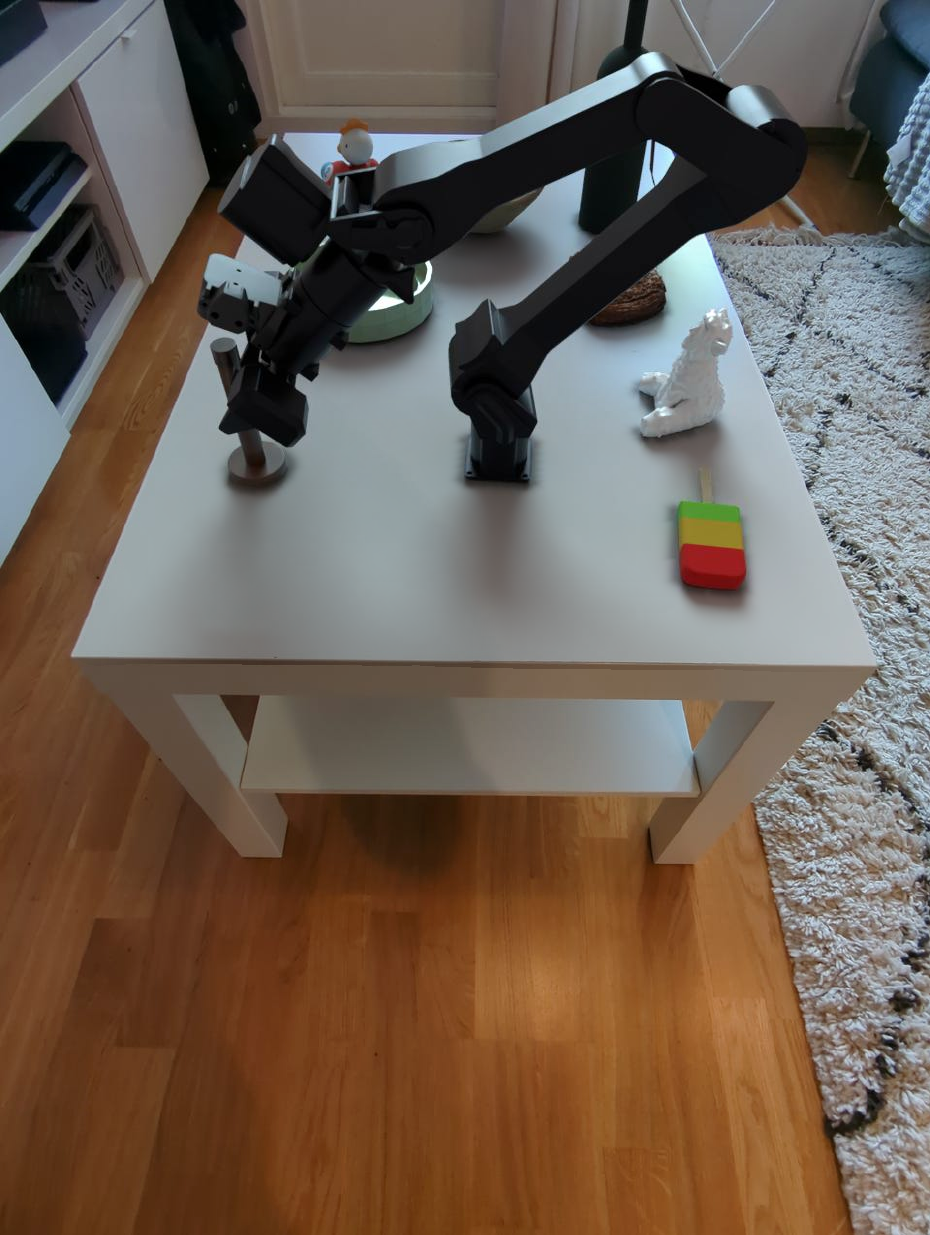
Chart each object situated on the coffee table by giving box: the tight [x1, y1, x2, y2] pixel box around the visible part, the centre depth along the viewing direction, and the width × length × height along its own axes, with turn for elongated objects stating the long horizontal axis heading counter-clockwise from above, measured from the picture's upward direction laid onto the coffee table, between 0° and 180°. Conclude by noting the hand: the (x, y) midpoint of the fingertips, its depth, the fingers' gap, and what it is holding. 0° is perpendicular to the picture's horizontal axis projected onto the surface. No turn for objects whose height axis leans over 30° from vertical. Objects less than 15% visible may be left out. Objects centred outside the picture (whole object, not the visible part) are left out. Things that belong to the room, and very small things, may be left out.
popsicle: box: [677, 466, 747, 591], centre depth 70 cm, size 6×15×2 cm, turn 172°
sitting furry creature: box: [638, 307, 734, 439], centre depth 76 cm, size 10×9×12 cm
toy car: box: [320, 117, 380, 186], centre depth 107 cm, size 9×9×10 cm
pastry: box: [568, 251, 668, 328], centre depth 92 cm, size 11×12×6 cm
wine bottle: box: [577, 0, 656, 236], centre depth 94 cm, size 8×10×30 cm
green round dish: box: [288, 241, 435, 344], centre depth 91 cm, size 17×17×4 cm
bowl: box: [447, 138, 546, 234], centre depth 102 cm, size 18×18×8 cm
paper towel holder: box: [209, 337, 288, 488], centre depth 70 cm, size 6×6×14 cm
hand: (227, 412), depth 70 cm, fingers open, 5 cm apart
